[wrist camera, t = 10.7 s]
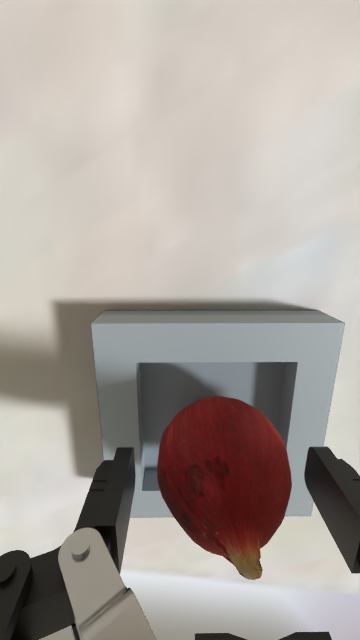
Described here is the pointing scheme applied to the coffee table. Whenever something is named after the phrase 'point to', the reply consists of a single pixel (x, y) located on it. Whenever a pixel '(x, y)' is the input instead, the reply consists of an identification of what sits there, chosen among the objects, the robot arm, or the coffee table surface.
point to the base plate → (213, 381)
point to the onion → (225, 478)
